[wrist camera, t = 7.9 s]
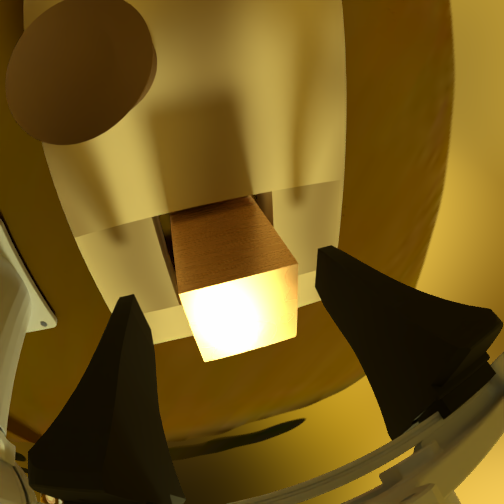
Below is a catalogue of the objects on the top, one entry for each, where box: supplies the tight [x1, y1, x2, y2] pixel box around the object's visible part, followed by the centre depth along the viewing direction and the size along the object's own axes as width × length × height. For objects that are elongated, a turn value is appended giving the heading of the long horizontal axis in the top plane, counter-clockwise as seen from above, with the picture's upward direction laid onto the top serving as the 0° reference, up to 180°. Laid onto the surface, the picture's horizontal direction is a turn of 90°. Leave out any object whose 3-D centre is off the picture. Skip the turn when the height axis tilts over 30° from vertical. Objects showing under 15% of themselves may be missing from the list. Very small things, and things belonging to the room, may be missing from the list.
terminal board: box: [6, 0, 346, 344], centre depth 10 cm, size 12×18×6 cm, turn 4°
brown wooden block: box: [170, 195, 298, 362], centre depth 12 cm, size 4×4×7 cm
